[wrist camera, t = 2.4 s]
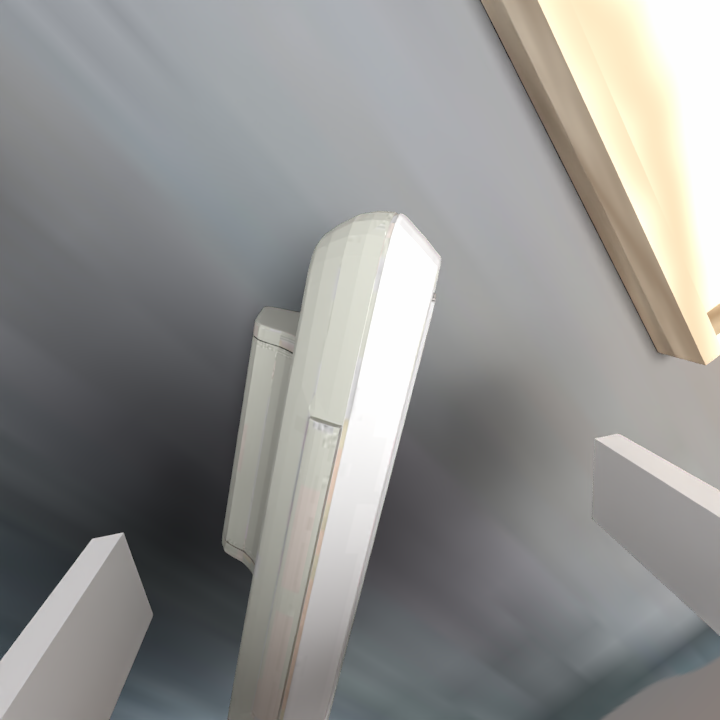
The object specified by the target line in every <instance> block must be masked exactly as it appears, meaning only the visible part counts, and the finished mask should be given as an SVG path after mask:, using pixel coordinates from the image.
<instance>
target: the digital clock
mask: <svg viewBox="0 0 720 720" xmlns="http://www.w3.org/2000/svg"><path fill="white" fill-rule="evenodd" d="M440 266H441V257H440V256H439V254H438V253H437V252H436V251H435V249H434V248H433V247H432V245H431V244H430V243H429V242H428V240H427V239H426V238H425V237H424V235H423V234H422V233H421V232H420V231H419V230H418V229H417V228H416V226H415V225H414V224H413V223H412V222H411V221H410V220H409V218H408V217H407V216H405V215H404V214H402V213H401V214H397V213H395V212H387V211H376V212H370V213H364V214H360V215H357V216H355V217H353V218H351V219H349V220H347V221H345V222H343V223H341V224H339V225H338V226H336V227H335V228H334V229H332V230H331V231H329V232H328V233H327V234H325V235H324V236H323V238H322V239H321V240H320V241H319V243H318V244H317V245H316V247H315V250H314V252H313V255H312V258H311V262H310V266H309V270H308V274H307V279H306V285H305V290H304V295H303V301H302V306H301V311H300V312H296V311H291V310H286V309H280V308H275V307H264V308H263V309H262V311H261V312H260V314H259V315H258V317H257V318H256V320H255V324H254V331H253V339H252V345H251V352H250V358H249V365H248V371H247V378H246V385H245V391H244V398H243V404H242V411H241V417H240V424H239V430H238V437H237V443H236V450H235V456H234V463H233V470H232V476H231V483H230V489H229V496H228V502H227V509H226V515H225V522H224V527H223V534H222V545H223V548H224V550H225V552H226V553H227V554H229V555H231V556H232V557H234V558H236V559H238V560H240V561H242V562H243V563H244V564H245V565H246V566H247V567H248V568H249V570H250V571H251V573H252V574H253V578H252V583H251V589H250V594H249V600H248V606H247V611H246V617H245V622H244V628H243V634H242V639H241V645H240V651H239V656H238V662H237V667H236V673H235V679H234V684H233V690H232V695H231V701H230V707H229V713H228V718H227V720H328V718H329V715H330V711H331V707H332V703H333V699H334V695H335V691H336V687H337V683H338V680H339V676H340V672H341V668H342V664H343V660H344V656H345V652H346V648H347V644H348V641H349V637H350V633H351V629H352V625H353V621H354V617H355V613H356V609H357V605H358V602H359V598H360V594H361V590H362V586H363V582H364V578H365V574H366V570H367V567H368V563H369V559H370V555H371V551H372V547H373V543H374V539H375V535H376V531H377V528H378V524H379V520H380V516H381V512H382V508H383V504H384V500H385V496H386V493H387V489H388V485H389V481H390V477H391V473H392V469H393V465H394V461H395V457H396V454H397V450H398V446H399V442H400V438H401V434H402V430H403V426H404V422H405V418H406V415H407V411H408V407H409V403H410V399H411V395H412V391H413V387H414V383H415V380H416V376H417V372H418V368H419V364H420V360H421V356H422V352H423V348H424V344H425V341H426V337H427V333H428V329H429V325H430V321H431V317H432V313H433V309H434V306H435V302H436V293H434V292H435V288H436V284H437V280H438V276H439V271H440Z"/></svg>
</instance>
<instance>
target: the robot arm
mask: <svg viewBox="0 0 720 720" xmlns="http://www.w3.org/2000/svg"><path fill="white" fill-rule="evenodd" d="M592 519H593V520H594V521H595V522H596V523H597V524H598V525H599V526H601V527H602V528H603V529H604V530H605V531H606V532H607V533H608V534H609V535H610V536H611V537H613V538H614V539H615V540H616V541H617V542H618V543H619V544H620V545H621V546H622V547H623V548H625V549H626V550H627V551H628V552H629V553H630V554H631V555H632V556H633V557H634V558H635V559H637V560H638V561H639V562H640V563H641V564H642V565H643V566H644V567H645V568H646V569H647V570H649V571H650V572H651V573H652V574H653V575H654V576H655V577H656V578H657V579H658V580H660V581H661V582H662V583H663V584H664V585H665V586H666V587H667V588H668V589H669V590H670V591H672V592H673V593H674V594H675V595H676V596H677V597H678V598H679V599H680V600H681V601H682V602H684V603H685V604H686V605H687V606H688V607H689V608H690V609H691V610H692V611H693V612H694V613H696V614H697V615H698V616H699V617H700V618H701V619H702V620H703V621H704V622H705V623H706V624H708V625H709V626H710V627H711V628H712V629H713V630H714V631H715V632H716V633H717V634H718V635H720V491H719V490H718V489H716V488H714V487H712V486H711V485H709V484H707V483H705V482H704V481H702V480H700V479H698V478H696V477H695V476H693V475H691V474H689V473H688V472H686V471H684V470H682V469H681V468H679V467H677V466H675V465H673V464H672V463H670V462H668V461H666V460H665V459H663V458H661V457H659V456H658V455H656V454H654V453H652V452H651V451H649V450H647V449H645V448H643V447H642V446H640V445H638V444H636V443H635V442H633V441H631V440H629V439H628V438H626V437H624V436H622V435H620V434H614V435H609V436H604V437H599V438H595V441H594V469H593V498H592ZM152 617H153V613H152V610H151V607H150V604H149V602H148V599H147V596H146V593H145V591H144V588H143V585H142V582H141V580H140V577H139V574H138V571H137V569H136V566H135V563H134V560H133V557H132V555H131V552H130V549H129V546H128V544H127V541H126V538H125V535H124V533H118V534H113V535H108V536H103V537H98V538H93V539H92V540H91V541H90V542H89V544H88V545H87V546H86V548H85V549H84V550H83V552H82V553H81V554H80V556H79V557H78V558H77V560H76V561H75V562H74V564H73V565H72V566H71V568H70V569H69V570H68V572H67V573H66V574H65V576H64V577H63V578H62V580H61V581H60V582H59V584H58V585H57V586H56V588H55V589H54V590H53V592H52V593H51V594H50V596H49V597H48V598H47V600H46V601H45V602H44V604H43V605H42V606H41V608H40V609H39V610H38V612H37V613H36V614H35V616H34V617H33V618H32V619H31V621H30V622H29V623H28V625H27V626H26V627H25V629H24V630H23V631H22V633H21V634H20V635H19V637H18V638H17V639H16V641H15V642H14V643H13V645H12V646H11V647H10V649H9V650H8V651H7V653H6V654H5V655H4V657H3V658H2V659H1V661H0V720H109V719H110V717H111V714H112V712H113V710H114V707H115V705H116V703H117V700H118V698H119V695H120V693H121V691H122V688H123V686H124V684H125V681H126V679H127V676H128V674H129V672H130V669H131V667H132V665H133V662H134V660H135V657H136V655H137V653H138V650H139V648H140V646H141V643H142V641H143V639H144V636H145V634H146V631H147V629H148V627H149V624H150V622H151V620H152Z"/></svg>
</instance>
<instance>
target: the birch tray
mask: <svg viewBox="0 0 720 720" xmlns="http://www.w3.org/2000/svg"><path fill="white" fill-rule="evenodd" d="M481 2H482V4H483V6H484V7H485V9H486V11H487V13H488V15H489V17H490V19H491V21H492V23H493V25H494V27H495V29H496V31H497V33H498V35H499V37H500V39H501V41H502V43H503V45H504V47H505V49H506V51H507V53H508V55H509V57H510V59H511V61H512V63H513V65H514V67H515V69H516V71H517V73H518V75H519V77H520V79H521V81H522V83H523V85H524V87H525V89H526V91H527V93H528V95H529V97H530V99H531V101H532V103H533V105H534V107H535V109H536V111H537V113H538V115H539V117H540V119H541V121H542V123H543V125H544V127H545V129H546V131H547V133H548V135H549V137H550V139H551V140H552V142H553V144H554V146H555V148H556V150H557V152H558V154H559V156H560V158H561V160H562V162H563V164H564V166H565V168H566V170H567V172H568V174H569V176H570V178H571V180H572V182H573V184H574V186H575V188H576V190H577V192H578V194H579V196H580V198H581V200H582V202H583V204H584V206H585V208H586V210H587V212H588V214H589V216H590V218H591V220H592V222H593V224H594V226H595V228H596V230H597V232H598V234H599V236H600V238H601V240H602V242H603V244H604V246H605V248H606V250H607V252H608V254H609V256H610V258H611V260H612V262H613V264H614V266H615V268H616V270H617V272H618V273H619V275H620V277H621V279H622V281H623V283H624V285H625V287H626V289H627V291H628V293H629V295H630V297H631V299H632V301H633V303H634V305H635V307H636V309H637V311H638V313H639V315H640V317H641V319H642V321H643V323H644V325H645V327H646V329H647V331H648V333H649V335H650V337H651V339H652V341H653V343H654V345H655V347H656V349H657V351H658V352H659V353H662V354H666V355H670V356H673V357H677V358H681V359H684V360H688V361H692V362H695V363H699V364H703V365H707V364H708V363H710V362H711V361H712V360H714V359H715V358H716V357H718V356H719V355H720V0H481Z"/></svg>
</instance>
